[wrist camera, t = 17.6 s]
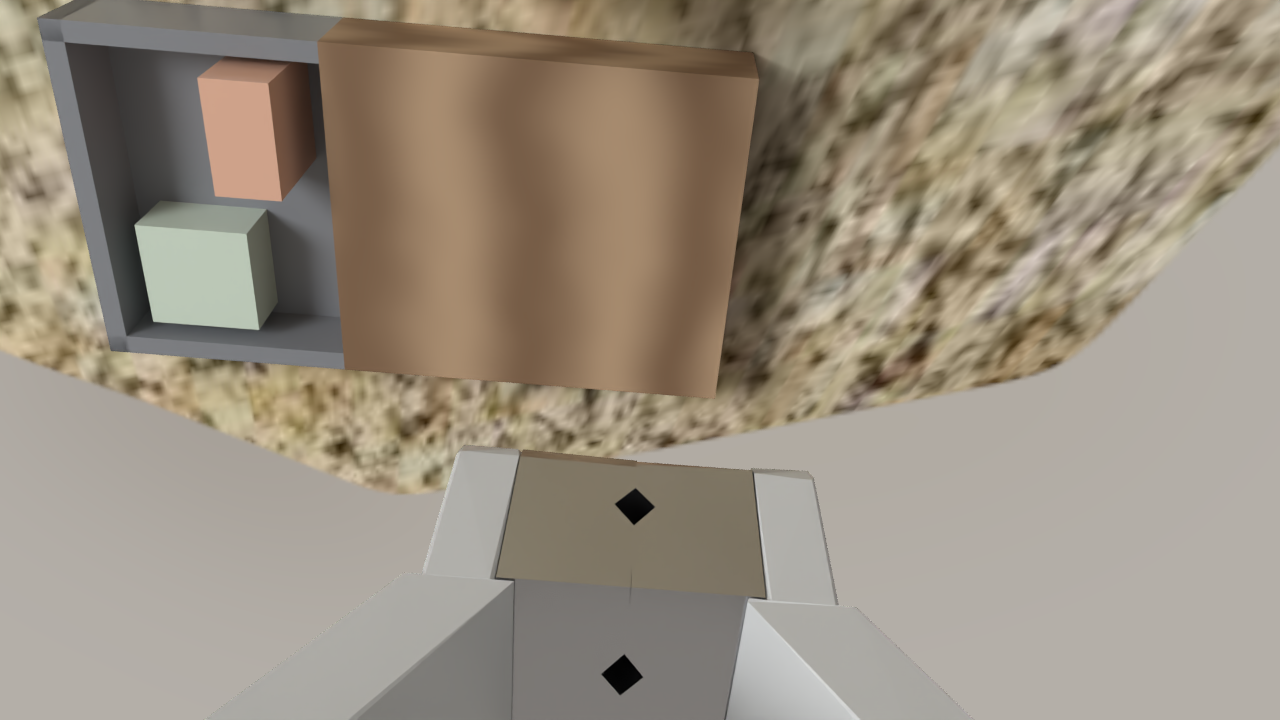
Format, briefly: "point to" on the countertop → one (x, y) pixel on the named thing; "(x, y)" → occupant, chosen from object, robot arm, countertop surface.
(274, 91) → the tile terracotta
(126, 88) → the tray
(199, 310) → the tile sage
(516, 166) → the board
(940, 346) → the countertop surface
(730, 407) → the countertop surface
